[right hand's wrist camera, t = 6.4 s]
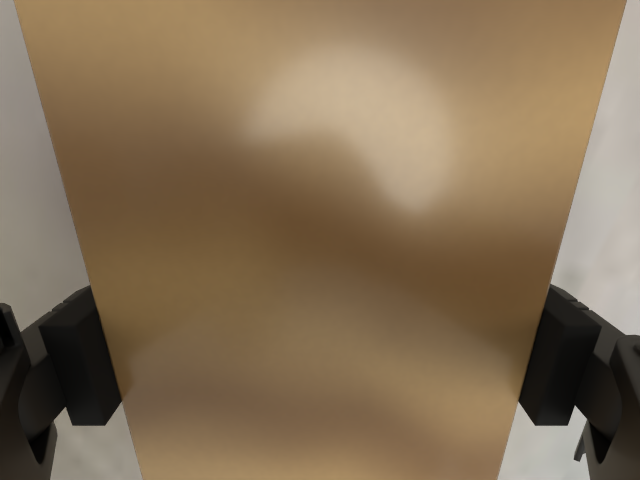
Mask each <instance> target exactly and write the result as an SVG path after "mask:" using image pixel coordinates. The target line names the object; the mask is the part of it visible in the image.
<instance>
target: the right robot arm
mask: <svg viewBox="0 0 640 480" xmlns="http://www.w3.org/2000/svg"><path fill="white" fill-rule="evenodd" d="M121 402H122V400H121V396H120V392H119V389H118V385H117V381H116V378H115V374H114V370H113V367H112V363H111V359H110V355H109V352H108V348H107V344H106V341H105V337H104V333H103V329H102V326H101V322H100V318H99V315H98V311H97V307H96V303H95V300H94V296H93V292H92V289H91V285H89V286H87V287H85V288H83V289H80V290H78V291H76V292H75V293H74V294H72V295H71V296H69V297H68V298H67V299H65V300H64V301H63V303H60V304H59V305H57V306H56V307H54V308H53V309H52V312H48V313H46V314H45V315H44V316H42V317H41V318H40V319H38V320H37V321H35V322H34V323H33V324H31V325H30V326H29V327H27V328H26V329H25V330H23V331H22V332H21V333H20V330H19V328H18V325H17V322H16V319H15V317H14V314H13V311H12V309H11V306H9V305H7V304H5V303H0V480H50V476H51V470H52V464H53V458H54V452H55V447H56V441H57V430H56V427H55V424H54V421H53V420H54V419H55V418H56V417H57V416H58V415H59V414H60V412H61V411H62V410H63V409H64V408H65V407H66V408H67V411H68V414H69V417H70V420H71V423H72V426H105V425H106V424H107V422H108V421H109V419H110V418H111V416H112V415H113V413H114V412H115V410H116V409H117V407H118V406H119V405H120V403H121ZM519 403H520V404H521V406H522V407H523V409H524V410H525V412H526V413H527V414H528V416H529V417H530V419H531V420H532V422H533V423H534V425H535V426H568V423H569V420H570V418H571V415H572V412H573V409H574V406H576V407H577V408H578V409H579V410H580V411H581V412H582V414H583V415H584V416H585V417H586V418H587V421H586V424H585V427H584V429H583V432H582V435H581V437H580V440H579V443H578V445H577V448H576V451H575V455H574V460H576V461H579V462H580V460H581V457H582V454H584V453H586V457H587V463H588V469H589V475H590V480H640V336H639V335H625V334H624V333H622V332H621V331H619V330H618V329H617V328H615V327H614V326H613V325H611V324H610V323H609V322H607V321H606V320H604V319H603V318H602V317H600V316H599V315H598V314H596V313H595V312H593V311H592V310H589V308H588V307H587V306H585V305H584V304H583V303H581V302H578V301H577V299H576V298H574V297H573V296H572V295H570V294H569V293H567V292H566V291H565V290H563V289H561V288H559V287H556V286H554V285H552V284H550V286H549V290H548V293H547V297H546V301H545V305H544V308H543V312H542V316H541V319H540V323H539V327H538V330H537V334H536V338H535V342H534V345H533V349H532V353H531V356H530V360H529V364H528V367H527V371H526V375H525V379H524V382H523V386H522V390H521V393H520V397H519Z"/></svg>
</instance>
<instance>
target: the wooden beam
mask: <svg viewBox="0 0 640 480" xmlns="http://www.w3.org/2000/svg"><path fill="white" fill-rule="evenodd" d="M626 1H627V0H14V3H15V7H16V10H17V14H18V18H19V22H20V25H21V29H22V33H23V36H24V40H25V44H26V48H27V51H28V55H29V59H30V62H31V66H32V70H33V73H34V77H35V81H36V85H37V88H38V92H39V96H40V99H41V103H42V107H43V111H44V114H45V118H46V122H47V125H48V129H49V133H50V137H51V140H52V144H53V148H54V151H55V155H56V159H57V163H58V166H59V170H60V174H61V177H62V181H63V185H64V188H65V192H66V196H67V200H68V203H69V207H70V211H71V214H72V218H73V222H74V226H75V229H76V233H77V237H78V240H79V244H80V248H81V252H82V255H83V259H84V263H85V266H86V270H87V274H88V277H89V281H90V285H91V289H92V292H93V296H94V300H95V303H96V307H97V311H98V315H99V318H100V322H101V326H102V329H103V333H104V337H105V341H106V344H107V348H108V352H109V355H110V359H111V363H112V367H113V370H114V374H115V378H116V381H117V385H118V389H119V392H120V396H121V400H122V404H123V407H124V411H125V415H126V418H127V422H128V426H129V430H130V433H131V437H132V441H133V444H134V448H135V452H136V456H137V459H138V463H139V467H140V470H141V474H142V478H143V480H497V478H498V475H499V471H500V467H501V464H502V460H503V456H504V452H505V449H506V445H507V441H508V438H509V434H510V430H511V427H512V423H513V419H514V416H515V412H516V408H517V404H518V401H519V397H520V393H521V390H522V386H523V382H524V379H525V375H526V371H527V367H528V364H529V360H530V356H531V353H532V349H533V345H534V342H535V338H536V334H537V330H538V327H539V323H540V319H541V316H542V312H543V308H544V305H545V301H546V297H547V293H548V290H549V286H550V282H551V279H552V275H553V271H554V268H555V264H556V260H557V256H558V253H559V249H560V245H561V242H562V238H563V234H564V231H565V227H566V223H567V220H568V216H569V212H570V208H571V205H572V201H573V197H574V194H575V190H576V186H577V183H578V179H579V175H580V171H581V168H582V164H583V160H584V157H585V153H586V149H587V146H588V142H589V138H590V134H591V131H592V127H593V123H594V120H595V116H596V112H597V109H598V105H599V101H600V97H601V94H602V90H603V86H604V83H605V79H606V75H607V72H608V68H609V64H610V60H611V57H612V53H613V49H614V46H615V42H616V38H617V35H618V31H619V27H620V24H621V20H622V16H623V12H624V9H625V5H626Z"/></svg>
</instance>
